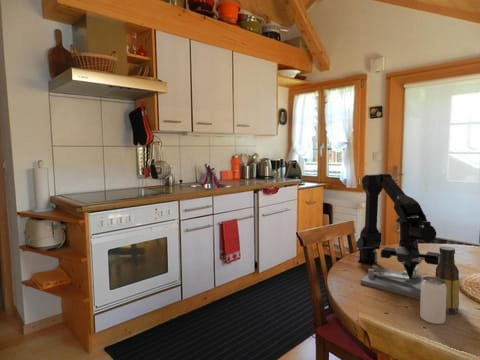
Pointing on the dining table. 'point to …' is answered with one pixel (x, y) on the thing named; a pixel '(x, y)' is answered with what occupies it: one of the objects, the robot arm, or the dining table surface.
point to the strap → (391, 275)
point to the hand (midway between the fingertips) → (410, 278)
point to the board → (393, 283)
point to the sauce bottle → (449, 278)
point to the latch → (413, 273)
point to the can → (433, 300)
